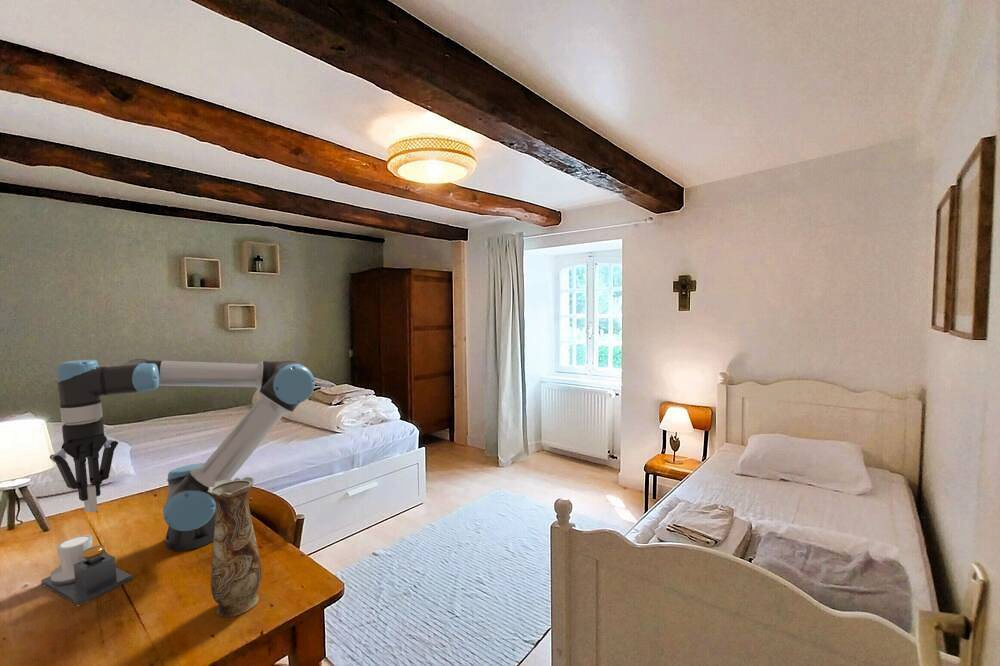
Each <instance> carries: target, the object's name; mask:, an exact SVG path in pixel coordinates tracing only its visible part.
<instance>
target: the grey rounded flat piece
mask: <svg viewBox="0 0 1000 666" xmlns="http://www.w3.org/2000/svg"><path fill="white" fill-rule="evenodd" d="M50 576H51V583H52V584H54V585H64V584H69V583H73V582H75V575H74V572H70V573H64V572H62V567H61V565H60V566H57V567H56V568H55V569H54V570H52V571H51V573H50Z"/></svg>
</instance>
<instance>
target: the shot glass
mask: <svg viewBox="0 0 1000 666" xmlns="http://www.w3.org/2000/svg"><path fill="white" fill-rule="evenodd" d="M93 538H94V537H93V535H92V534H91V535H90V534H86V535H85V534H84V535H79V536H74V537H71V538H68V539H66V540H63V541H61V542H60V543H59V544H58V545H57V546H56V550H57V555H58V559H59V562H60V563H59V564H60V566H61V567H62V572H64V573H70V572H74V564H75V563H78V562H80V561H82V560H85V559H84V558H83V551H85V550H86V549H88V548H91V547H93Z"/></svg>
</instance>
